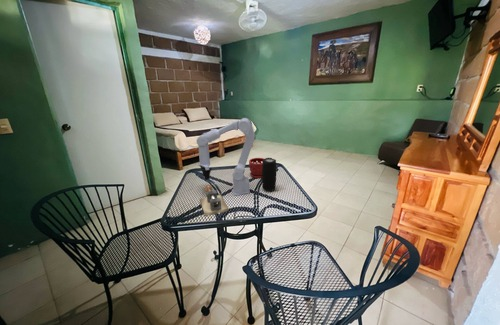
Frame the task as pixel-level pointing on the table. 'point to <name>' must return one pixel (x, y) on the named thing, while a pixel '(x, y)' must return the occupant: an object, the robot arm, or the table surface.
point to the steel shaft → (209, 188)
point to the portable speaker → (269, 174)
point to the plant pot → (256, 167)
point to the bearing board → (213, 208)
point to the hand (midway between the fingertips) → (206, 177)
